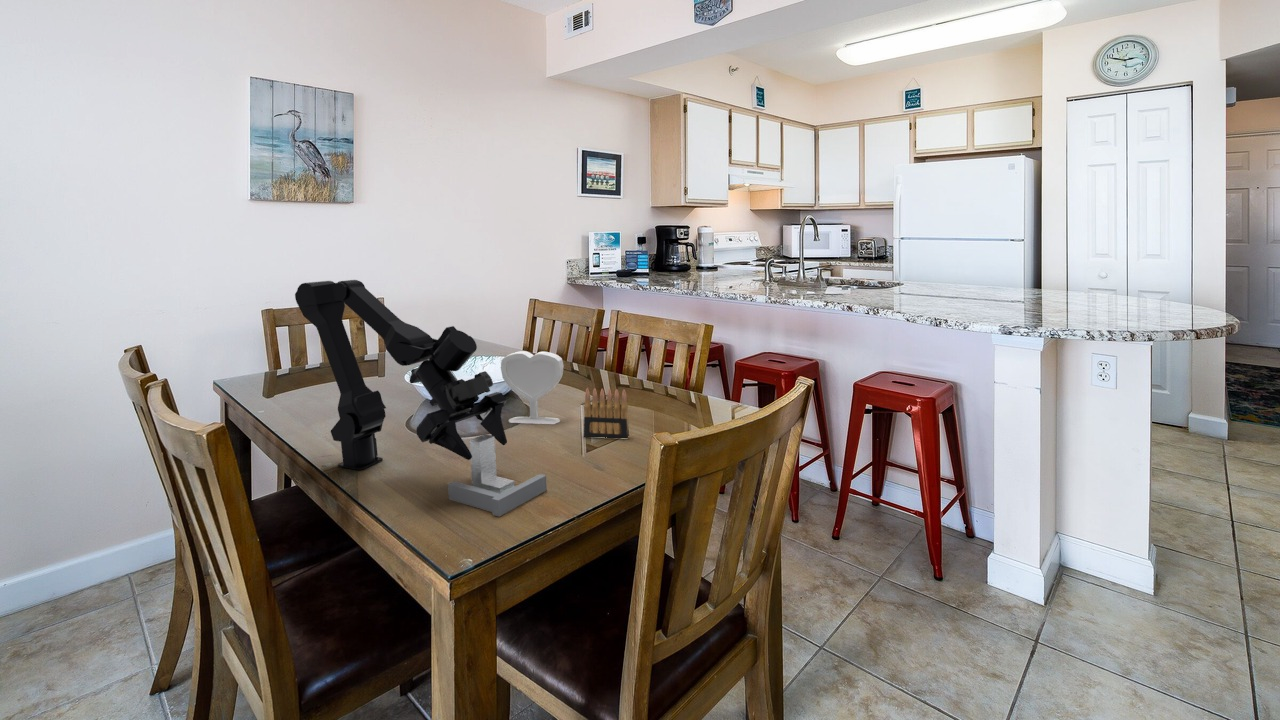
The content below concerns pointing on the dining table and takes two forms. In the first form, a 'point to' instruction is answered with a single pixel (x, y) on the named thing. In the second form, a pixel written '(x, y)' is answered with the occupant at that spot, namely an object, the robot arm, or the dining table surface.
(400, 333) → the robot arm
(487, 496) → the corner bracket
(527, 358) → the heart sculpture
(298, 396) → the dining table surface
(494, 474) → the white l-shaped block
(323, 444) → the dining table surface
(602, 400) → the ammunition clip
